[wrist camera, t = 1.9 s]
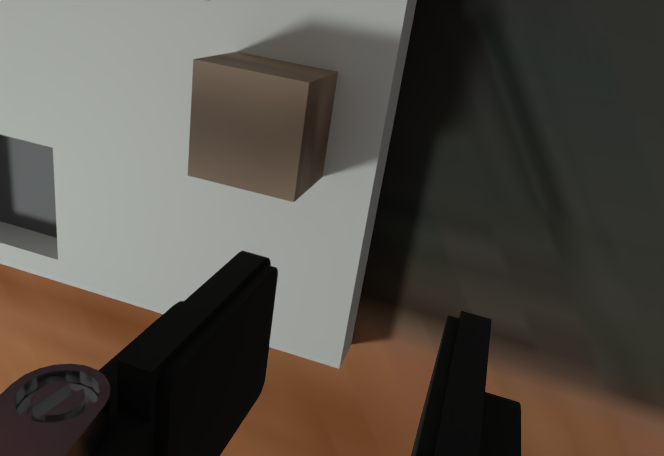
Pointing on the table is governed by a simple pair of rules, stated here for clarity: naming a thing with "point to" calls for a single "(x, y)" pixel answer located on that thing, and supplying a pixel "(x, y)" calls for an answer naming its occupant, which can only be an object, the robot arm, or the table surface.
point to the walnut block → (260, 123)
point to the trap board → (173, 151)
